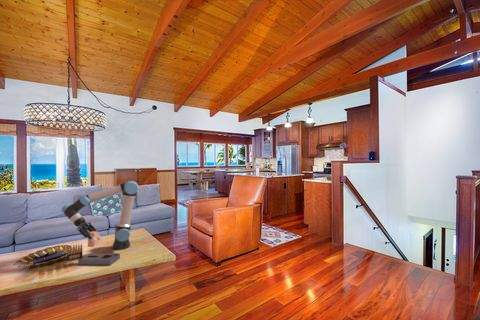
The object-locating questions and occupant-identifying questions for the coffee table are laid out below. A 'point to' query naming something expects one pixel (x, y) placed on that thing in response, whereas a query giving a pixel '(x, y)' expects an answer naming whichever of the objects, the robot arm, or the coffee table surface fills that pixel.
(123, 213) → the robot arm
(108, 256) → the bore plate
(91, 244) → the square peg
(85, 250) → the coffee table surface
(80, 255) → the ammunition clip
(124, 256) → the coffee table surface
